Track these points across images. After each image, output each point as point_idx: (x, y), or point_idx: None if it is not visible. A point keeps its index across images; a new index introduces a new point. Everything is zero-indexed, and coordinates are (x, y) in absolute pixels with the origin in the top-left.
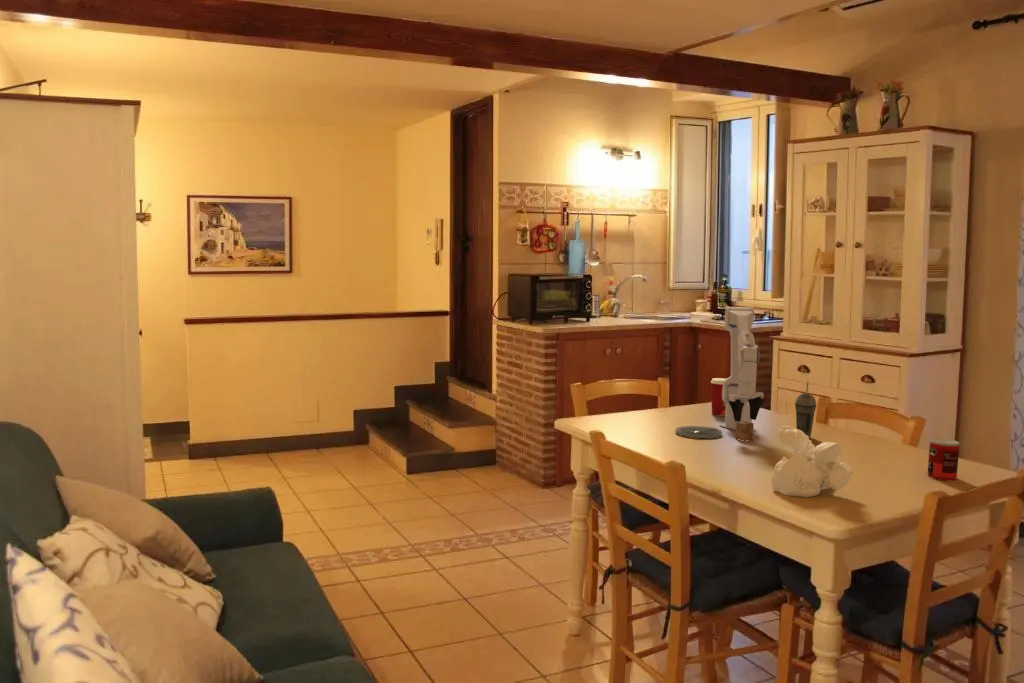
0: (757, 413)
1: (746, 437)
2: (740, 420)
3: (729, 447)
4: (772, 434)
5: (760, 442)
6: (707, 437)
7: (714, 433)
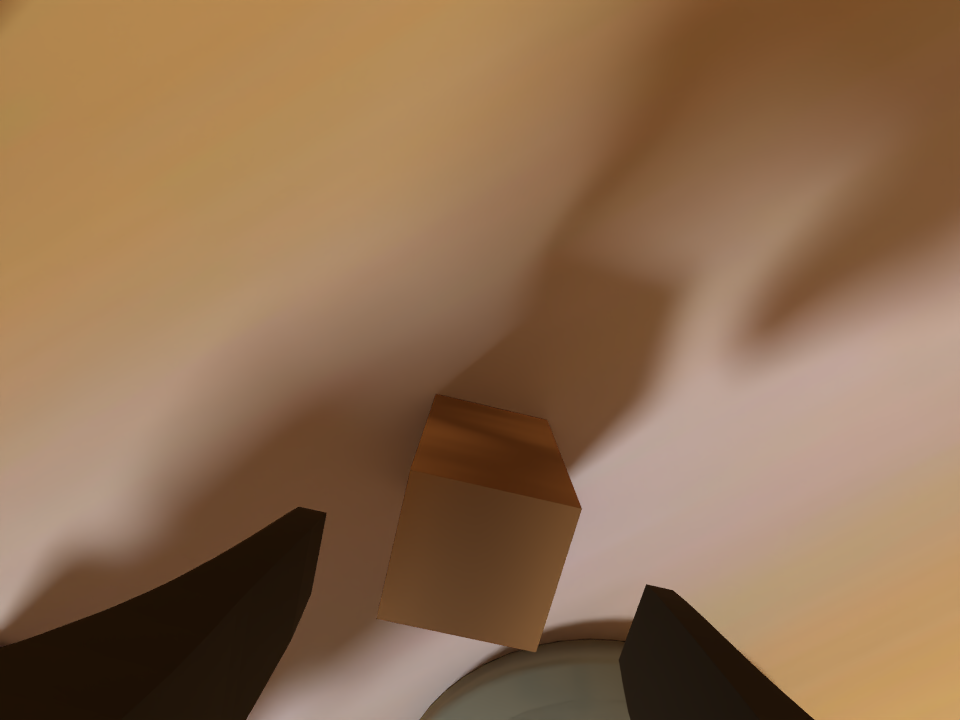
0: (241, 552)
1: (525, 428)
2: (659, 593)
3: (887, 389)
4: (37, 394)
5: (459, 294)
6: None
7: (591, 704)
